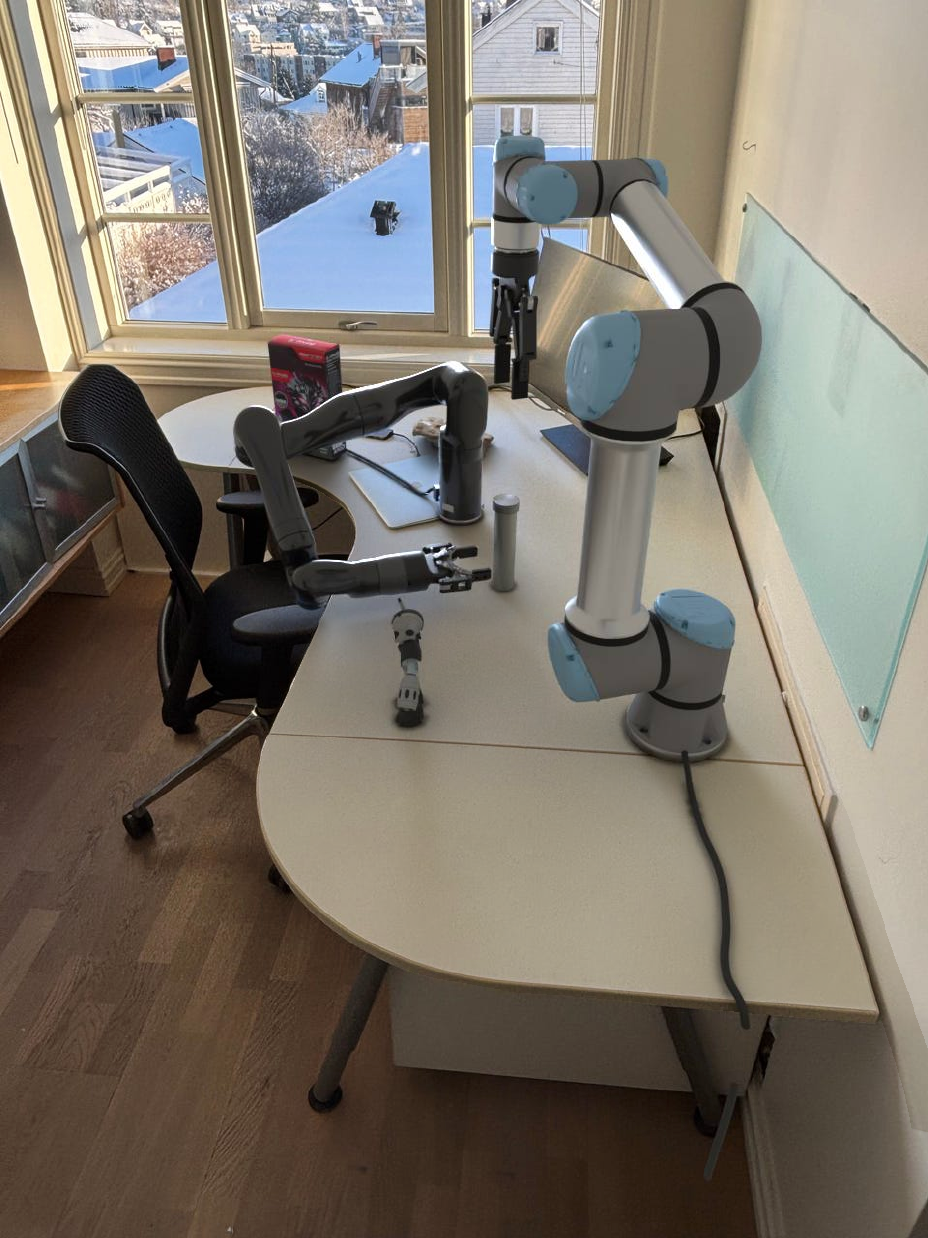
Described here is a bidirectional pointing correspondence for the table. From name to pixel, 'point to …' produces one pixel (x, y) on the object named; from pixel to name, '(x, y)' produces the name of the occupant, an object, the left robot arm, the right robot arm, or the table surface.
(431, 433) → the stone
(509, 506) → the lid
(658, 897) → the table surface
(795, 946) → the table surface
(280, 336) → the graphics card box
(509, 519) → the grey capped cylinder
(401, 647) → the robot
